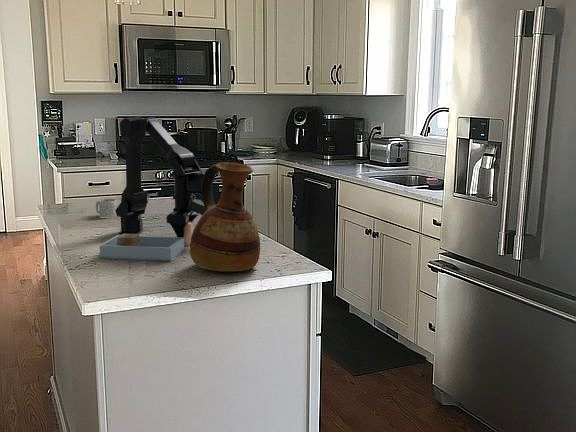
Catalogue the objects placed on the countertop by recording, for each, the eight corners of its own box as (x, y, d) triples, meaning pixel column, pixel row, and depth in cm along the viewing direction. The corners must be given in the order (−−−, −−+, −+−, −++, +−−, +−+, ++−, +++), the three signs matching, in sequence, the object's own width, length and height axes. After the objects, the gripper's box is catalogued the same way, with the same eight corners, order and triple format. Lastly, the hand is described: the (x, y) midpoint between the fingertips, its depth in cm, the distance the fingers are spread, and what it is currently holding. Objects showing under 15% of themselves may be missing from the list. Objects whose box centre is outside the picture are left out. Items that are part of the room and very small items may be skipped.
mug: (121, 216, 248) (120, 199, 247) (107, 219, 242) (107, 202, 241) (103, 213, 253) (102, 197, 252) (90, 216, 248) (89, 199, 246)
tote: (100, 258, 188) (99, 245, 187) (117, 247, 201) (117, 234, 200) (170, 261, 185) (170, 248, 184) (184, 249, 198) (183, 237, 198)
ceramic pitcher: (233, 282, 166) (231, 169, 160) (175, 270, 176) (171, 163, 170) (274, 265, 182) (274, 161, 176) (218, 255, 192) (217, 156, 186)
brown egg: (175, 245, 204) (174, 224, 202) (179, 241, 208) (179, 221, 207) (190, 246, 203) (189, 224, 202) (194, 242, 208) (194, 221, 206)
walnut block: (118, 253, 191) (117, 237, 190) (124, 249, 196) (123, 233, 195) (134, 254, 191) (133, 237, 190) (139, 249, 196) (139, 234, 195)
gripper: (200, 197, 192) (201, 247, 195) (215, 187, 210) (215, 233, 213) (165, 196, 194) (166, 246, 197) (182, 187, 212) (183, 232, 215)
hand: (184, 239), depth 205 cm, fingers open, 7 cm apart
